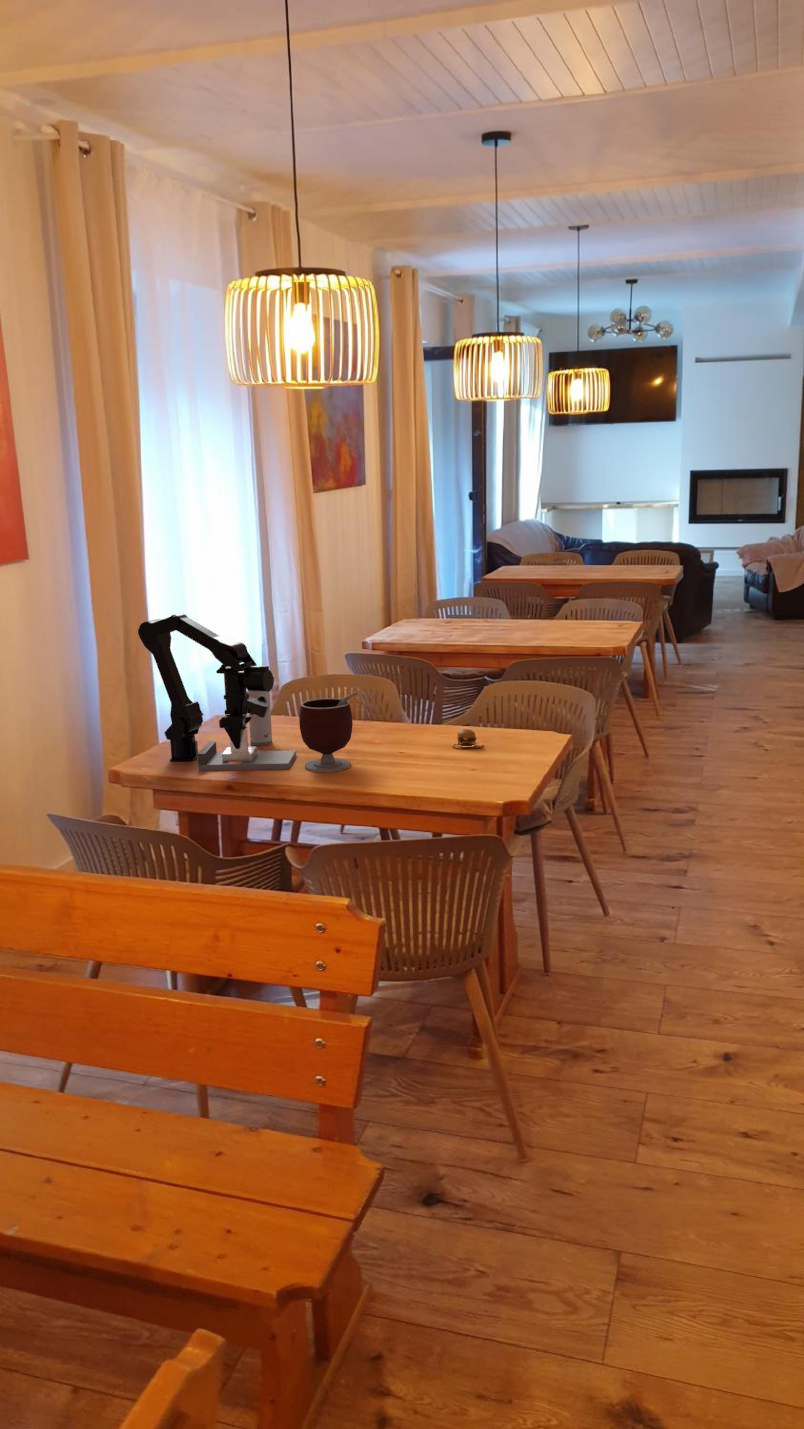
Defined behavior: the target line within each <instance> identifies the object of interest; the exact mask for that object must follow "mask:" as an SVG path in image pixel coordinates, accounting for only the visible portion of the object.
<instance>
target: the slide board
mask: <svg viewBox="0 0 804 1429" xmlns="http://www.w3.org/2000/svg"><path fill="white" fill-rule="evenodd" d="M217 750H218V748H217V741H212V740H211V741H207V743H206V744H205V745H204V746H203V747H202V749H200V750H199V751H198V756H197V765H198V768H197V769H198V771H231V770H232V771H239V770H240V771H245V770H250V771H251V770H252V771H253V770H289V769H290V768H291V766H292V764H293V762H294V760H295V759H296V756H297V750H257V755H256V756H255V758H254V759H253V760H252V761H222V753H223V752H224V751H217Z"/></svg>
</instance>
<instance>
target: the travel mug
mask: <svg viewBox="0 0 804 1429" xmlns="http://www.w3.org/2000/svg"><path fill="white" fill-rule="evenodd" d="M247 692H248V693H249V696H250V698H253V699H254V698H256V699H258V698H259V697H260V696H264V697H266V700H267V702H268V703H269V707H268V710H267V713H266V715H265V717H264V718H262V717H259V716H258V715H255V714H254V715H251V713H248V717H252V719H251V720H250V721H249V722H248V724H249V739H250V745H251V746H257V747H264V746H265V747H266V746H270V745H272V743H273V731H272V727H273V726H272V713H271V709H272V708H271V694H270V692H271V691H269V692H266V691H249V690H248V689H247Z"/></svg>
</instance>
